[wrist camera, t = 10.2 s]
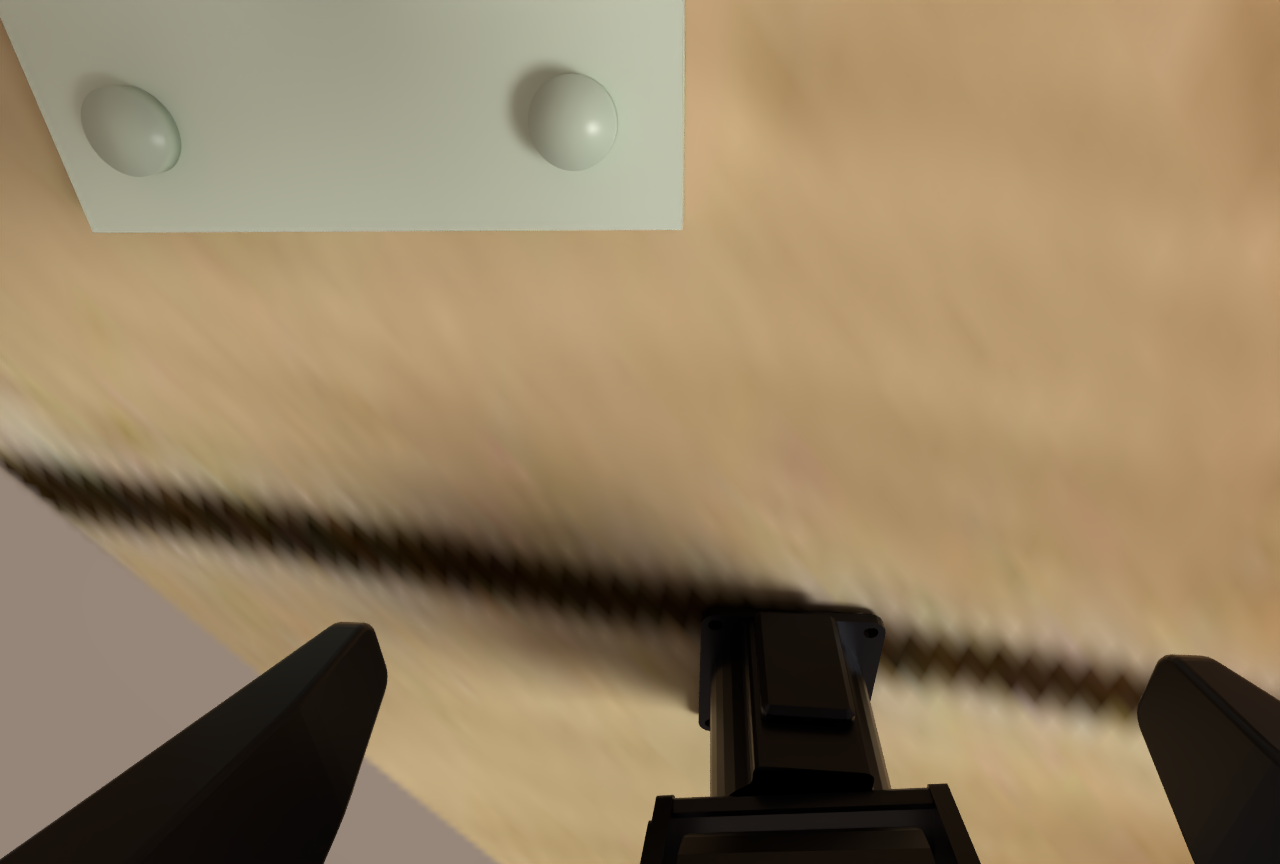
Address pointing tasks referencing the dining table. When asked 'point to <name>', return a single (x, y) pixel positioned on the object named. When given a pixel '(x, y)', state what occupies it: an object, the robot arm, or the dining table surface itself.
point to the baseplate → (362, 112)
